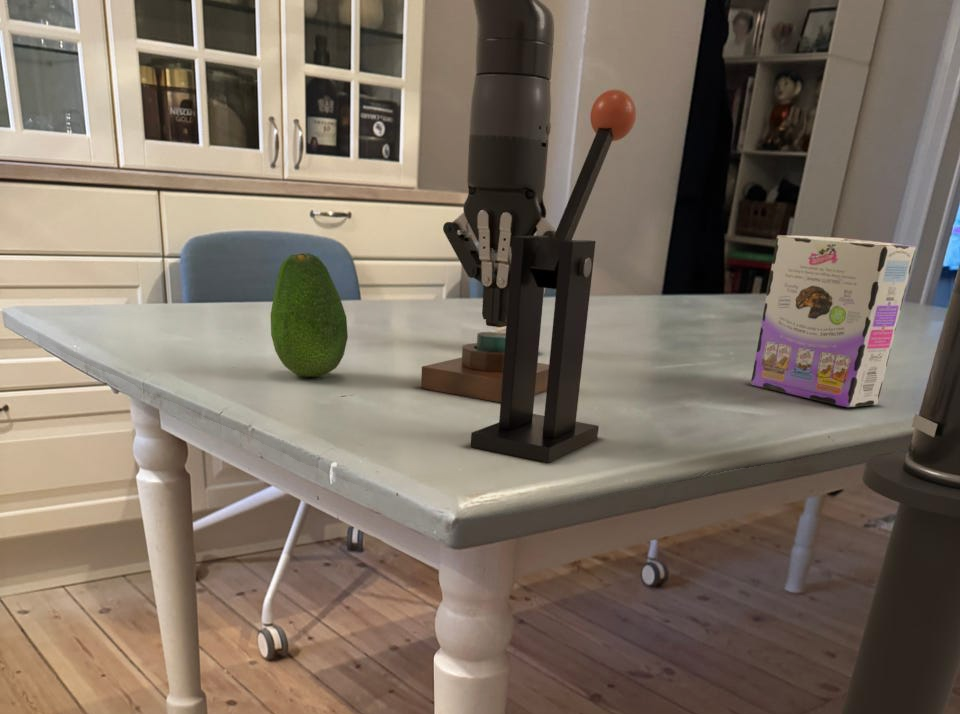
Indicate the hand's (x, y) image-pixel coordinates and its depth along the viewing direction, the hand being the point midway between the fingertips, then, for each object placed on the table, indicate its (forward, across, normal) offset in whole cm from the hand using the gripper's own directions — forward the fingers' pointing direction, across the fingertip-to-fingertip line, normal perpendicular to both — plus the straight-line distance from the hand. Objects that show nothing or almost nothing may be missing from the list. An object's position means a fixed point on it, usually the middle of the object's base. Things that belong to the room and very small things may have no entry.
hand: (497, 325), depth 95 cm
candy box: (+7, +28, +25) cm, 38 cm away
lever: (-12, +14, -12) cm, 22 cm away
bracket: (+6, +14, -18) cm, 24 cm away
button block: (+6, 0, 0) cm, 6 cm away
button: (+3, 0, 0) cm, 3 cm away
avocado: (+6, -16, -10) cm, 20 cm away
